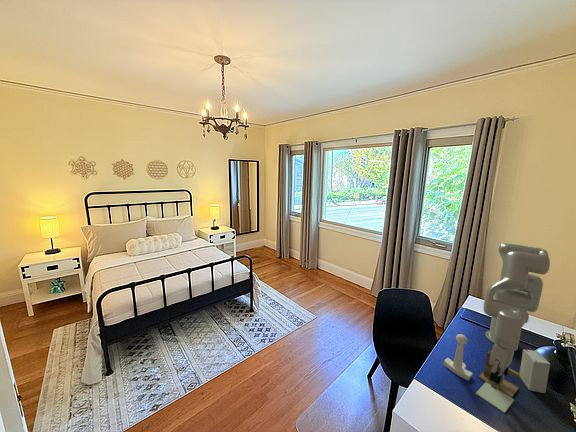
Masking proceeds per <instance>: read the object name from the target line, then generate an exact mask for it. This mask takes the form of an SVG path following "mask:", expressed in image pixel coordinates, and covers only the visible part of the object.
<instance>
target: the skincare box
mask: <svg viewBox="0 0 576 432" xmlns="http://www.w3.org/2000/svg"><path fill="white" fill-rule="evenodd" d="M550 368H551V363H550V362H549V361H548V360H547V358H545V357H544V356H543V355H542V354H541V352H539V351H538V350H531V349H525V348H524V349H522V356H521V363H520V368H519V372H518V373H519V374H520V377H519V378H520V380H521V381H522V382H523V383H524V384H525V386H526V387H527V389H528V390H529V391H532V392H536V393H541V394H546V393H547V392H546V391H547V386H548V380H549V374H550Z"/></svg>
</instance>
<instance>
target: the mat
mask: <svg viewBox="0 0 576 432" xmlns="http://www.w3.org/2000/svg"><path fill="white" fill-rule="evenodd" d="M475 395H477V396H478V397H480V399H481V398H482V399H483V400H484V401H485V402H487V403H488V404H490V405H491V406H493V407H494V408H496V409H497V410H499V411H500V412H502V413H503V414H505V413H506V412H507V411H508V410H509V409H510V407H511V406H512V404H513V403H514V402H515V399H514V398H513V397H512V398H511V397H509V396H508V395H506V394H504V393H503V392H501V391H500V390H498V389H497V390H496V389H494V388H492V387H491V385H490V384H488V383H487V382H485V381H484V383H483V385H481V387H480V388H479V389H478V390H477V391H476V392H475Z"/></svg>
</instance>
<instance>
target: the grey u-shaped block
mask: <svg viewBox="0 0 576 432" xmlns="http://www.w3.org/2000/svg"><path fill="white" fill-rule="evenodd" d="M498 367H499V368H500V366H498ZM505 370H506V369H505ZM505 370H504V371H502V372H501V375H500V376H501V380H500V383H501V384H502V383H503V381H504V379H505V377H506V376H505ZM497 372H498V373H499V369H497ZM498 386H499V385H498V384H497V383H495V382H493V381H492V384H491V387H492V388H494V389H496V390H497V389H498Z"/></svg>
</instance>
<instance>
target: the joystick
mask: <svg viewBox="0 0 576 432" xmlns="http://www.w3.org/2000/svg"><path fill="white" fill-rule="evenodd" d="M455 339H456V342H457V346H456V349H455V355H454V359H453V360H452V359H450V358H449V357H446V358H445V359H444V360H443V365H444V366H445V367H446V368H447V369H448V370H449V371H451V372H452V373H454V374H456V375H457V376H459V377H460V378H463V379H464V380H466V381H470V380H471V378H472V377H473V372H472V371H470V370H468V369H467V365H466V363H465V362H464V350H465V349H464V347H465V345H467V344H468V338H467V337H466V335H464V334H462V333H461V334H459V333H458V334H457V335H456V336H455Z"/></svg>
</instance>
